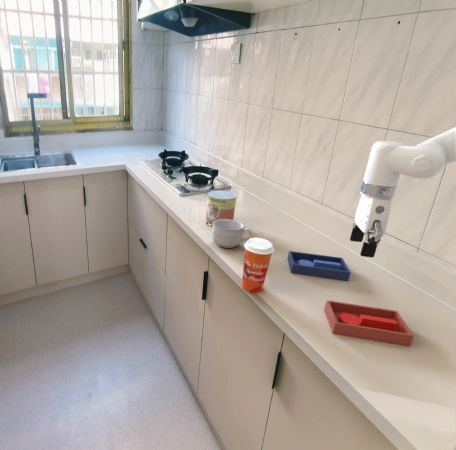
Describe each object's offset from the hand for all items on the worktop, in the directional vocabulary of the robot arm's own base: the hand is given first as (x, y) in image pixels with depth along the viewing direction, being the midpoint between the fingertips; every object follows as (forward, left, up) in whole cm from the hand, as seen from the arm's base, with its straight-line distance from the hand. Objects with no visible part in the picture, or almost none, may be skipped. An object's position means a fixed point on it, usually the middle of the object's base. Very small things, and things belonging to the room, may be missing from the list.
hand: (361, 248), depth 95 cm
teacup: (+35, -15, -12) cm, 40 cm away
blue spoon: (+8, -6, -11) cm, 15 cm away
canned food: (+40, -35, -12) cm, 55 cm away
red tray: (+2, +20, -12) cm, 23 cm away
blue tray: (+8, -6, -12) cm, 15 cm away
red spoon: (+2, +20, -11) cm, 23 cm away
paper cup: (+28, +10, -12) cm, 32 cm away
